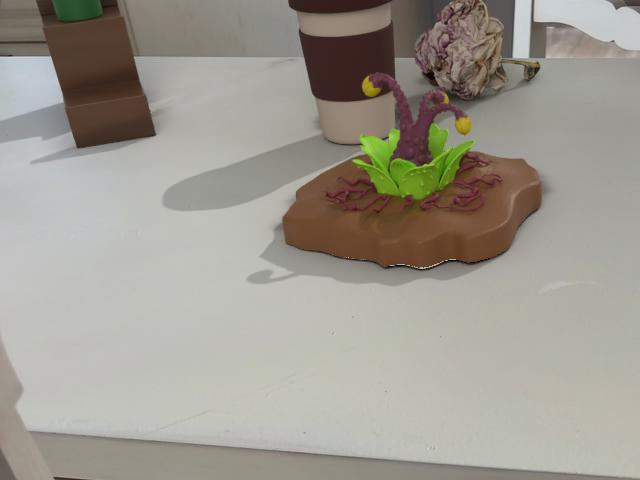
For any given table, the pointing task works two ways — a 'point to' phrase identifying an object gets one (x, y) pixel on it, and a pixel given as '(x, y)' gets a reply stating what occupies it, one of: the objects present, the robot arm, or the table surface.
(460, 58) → the decorative flower
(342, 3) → the coffee cup
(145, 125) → the rack
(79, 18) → the green bottle
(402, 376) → the table surface
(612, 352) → the table surface
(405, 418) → the table surface
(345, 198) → the plant
